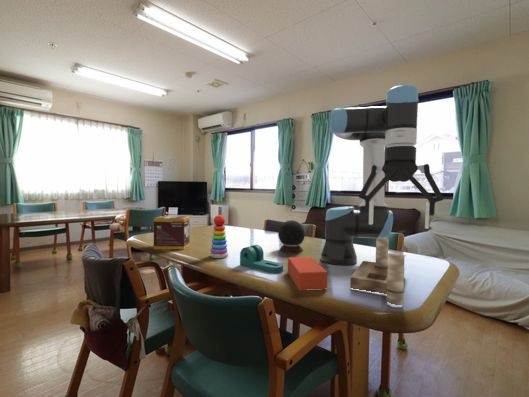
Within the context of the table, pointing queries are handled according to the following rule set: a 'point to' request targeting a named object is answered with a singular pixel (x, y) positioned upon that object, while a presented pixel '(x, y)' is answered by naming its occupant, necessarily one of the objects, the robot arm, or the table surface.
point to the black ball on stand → (291, 236)
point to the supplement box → (171, 232)
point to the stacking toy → (219, 239)
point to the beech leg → (395, 278)
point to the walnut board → (373, 271)
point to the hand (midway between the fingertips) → (397, 226)
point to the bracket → (258, 260)
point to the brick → (307, 273)
